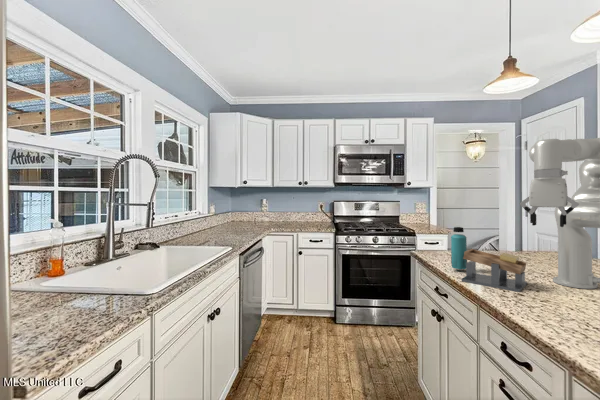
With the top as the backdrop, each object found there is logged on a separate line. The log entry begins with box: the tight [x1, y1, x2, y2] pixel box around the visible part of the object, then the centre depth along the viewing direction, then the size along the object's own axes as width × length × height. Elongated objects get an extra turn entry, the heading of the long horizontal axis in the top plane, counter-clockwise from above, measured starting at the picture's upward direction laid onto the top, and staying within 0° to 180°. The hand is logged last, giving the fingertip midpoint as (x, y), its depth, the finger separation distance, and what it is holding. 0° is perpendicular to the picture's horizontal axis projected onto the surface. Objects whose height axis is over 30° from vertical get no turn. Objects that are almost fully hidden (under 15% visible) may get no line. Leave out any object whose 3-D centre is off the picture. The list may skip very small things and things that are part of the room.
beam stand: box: [461, 260, 528, 293], centre depth 116 cm, size 19×13×9 cm
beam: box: [463, 248, 527, 274], centre depth 115 cm, size 19×8×3 cm, turn 43°
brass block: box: [499, 252, 520, 265], centre depth 112 cm, size 5×5×3 cm
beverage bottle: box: [450, 226, 468, 270], centre depth 134 cm, size 6×7×20 cm
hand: (547, 225), depth 103 cm, fingers open, 6 cm apart
